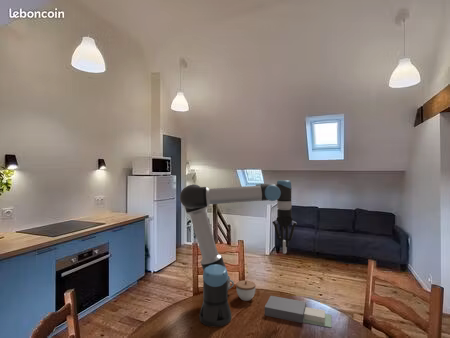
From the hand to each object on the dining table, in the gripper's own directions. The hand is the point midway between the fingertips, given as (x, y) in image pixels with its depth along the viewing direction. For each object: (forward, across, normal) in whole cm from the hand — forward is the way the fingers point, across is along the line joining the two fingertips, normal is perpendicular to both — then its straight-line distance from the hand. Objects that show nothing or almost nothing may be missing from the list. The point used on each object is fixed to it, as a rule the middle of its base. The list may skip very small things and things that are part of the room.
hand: (284, 252), depth 140 cm
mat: (+26, -17, +10) cm, 33 cm away
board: (+26, -2, +10) cm, 28 cm away
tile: (+26, -16, +10) cm, 32 cm away
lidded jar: (+27, +21, +3) cm, 34 cm away
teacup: (+27, +36, 0) cm, 45 cm away
